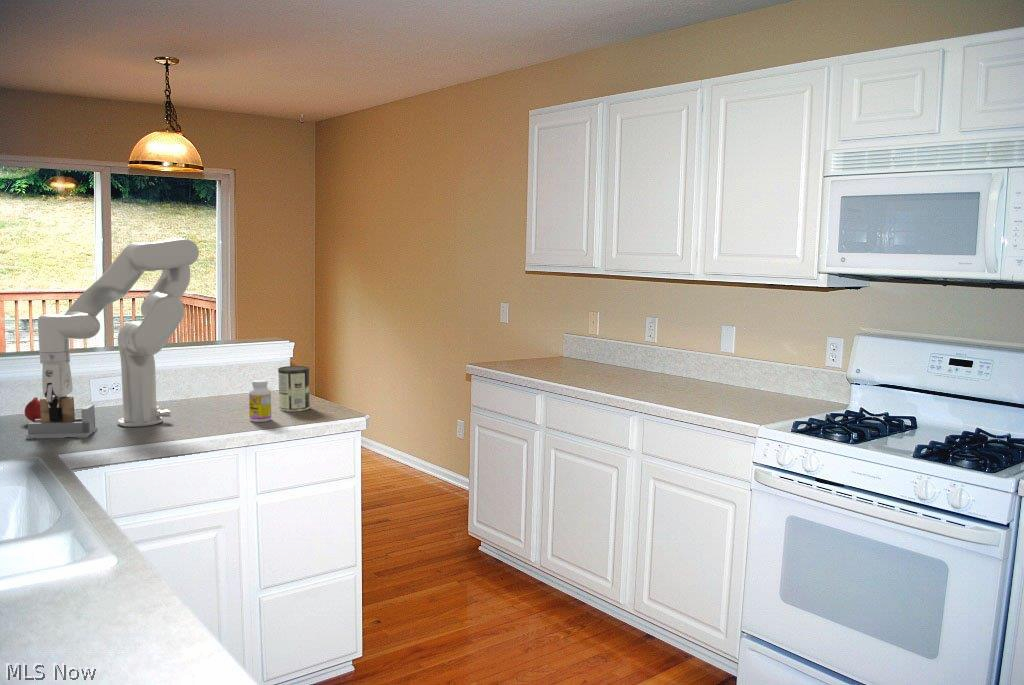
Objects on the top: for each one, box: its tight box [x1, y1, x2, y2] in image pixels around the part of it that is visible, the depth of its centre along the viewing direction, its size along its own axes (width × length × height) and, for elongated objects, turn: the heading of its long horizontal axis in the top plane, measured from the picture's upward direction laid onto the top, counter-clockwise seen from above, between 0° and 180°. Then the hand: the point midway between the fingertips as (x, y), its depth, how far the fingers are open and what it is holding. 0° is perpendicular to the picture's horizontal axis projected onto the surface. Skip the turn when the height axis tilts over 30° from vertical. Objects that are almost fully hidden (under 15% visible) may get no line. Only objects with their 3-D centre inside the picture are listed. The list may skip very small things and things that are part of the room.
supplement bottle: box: [248, 379, 272, 423], centre depth 255 cm, size 7×7×13 cm
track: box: [25, 404, 98, 440], centre depth 233 cm, size 16×9×8 cm, turn 100°
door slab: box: [39, 396, 76, 423], centre depth 232 cm, size 8×3×8 cm, turn 100°
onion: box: [24, 396, 41, 423], centre depth 246 cm, size 6×6×8 cm
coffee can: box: [277, 365, 311, 413], centre depth 273 cm, size 10×10×14 cm
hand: (58, 419), depth 233 cm, fingers closed on door slab, 3 cm apart
